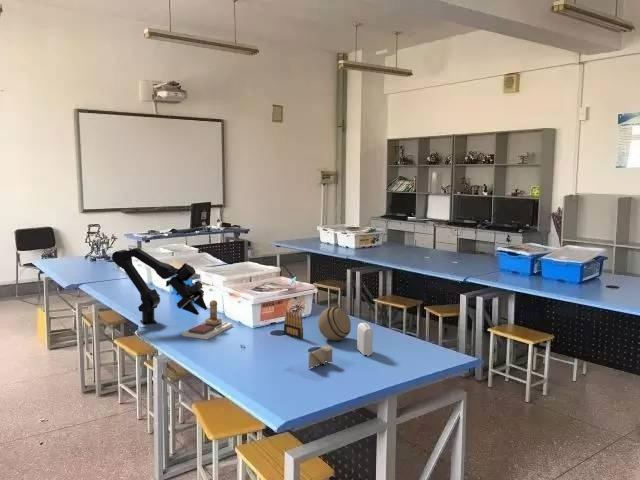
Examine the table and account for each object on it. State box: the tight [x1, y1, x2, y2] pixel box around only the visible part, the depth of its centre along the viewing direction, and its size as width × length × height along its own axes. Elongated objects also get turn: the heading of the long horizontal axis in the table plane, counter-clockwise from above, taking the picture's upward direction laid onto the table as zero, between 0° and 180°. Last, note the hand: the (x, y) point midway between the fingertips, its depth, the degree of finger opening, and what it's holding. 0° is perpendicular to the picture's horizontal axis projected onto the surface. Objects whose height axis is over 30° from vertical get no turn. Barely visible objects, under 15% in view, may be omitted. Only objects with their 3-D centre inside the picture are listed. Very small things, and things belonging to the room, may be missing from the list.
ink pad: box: [188, 324, 215, 335], centre depth 249 cm, size 9×8×1 cm
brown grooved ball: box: [318, 306, 352, 342], centre depth 244 cm, size 15×15×15 cm
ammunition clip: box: [283, 308, 304, 340], centre depth 248 cm, size 11×2×12 cm, turn 48°
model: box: [308, 345, 334, 369], centre depth 211 cm, size 3×11×8 cm, turn 141°
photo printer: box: [356, 322, 374, 356], centre depth 228 cm, size 10×4×12 cm, turn 14°
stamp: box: [204, 299, 223, 327], centre depth 258 cm, size 6×6×12 cm
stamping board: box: [181, 321, 234, 340], centre depth 254 cm, size 22×13×2 cm, turn 159°
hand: (202, 311), depth 259 cm, fingers open, 9 cm apart
